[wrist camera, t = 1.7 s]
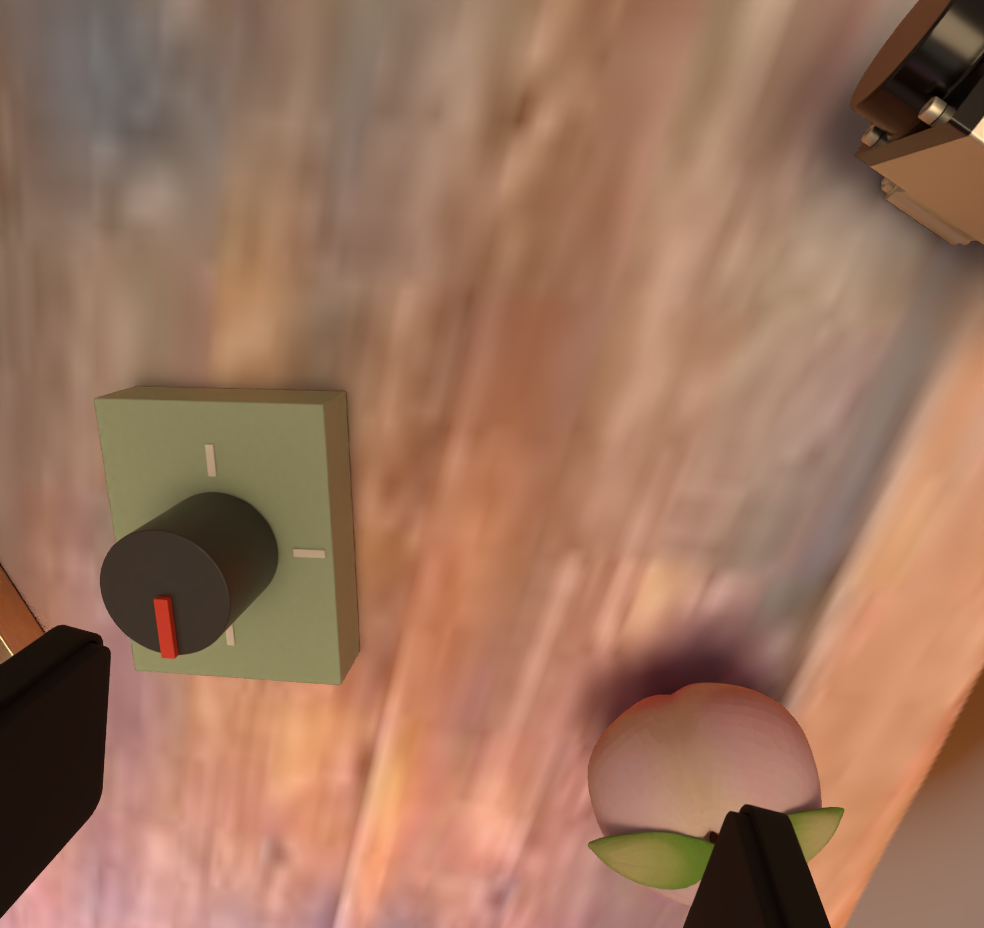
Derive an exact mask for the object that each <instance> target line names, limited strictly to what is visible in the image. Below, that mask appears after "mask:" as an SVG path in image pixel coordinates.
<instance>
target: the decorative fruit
mask: <svg viewBox="0 0 984 928" xmlns="http://www.w3.org/2000/svg"><path fill="white" fill-rule="evenodd" d="M588 787H589V794H590V798H591V803H592V806H593V810H594V813H595V816H596V819H597V822H598V824H599V826H600V829H601V831H602V833H603V835H604V837H603V838H599V839H596V840H594V841H591V842H589V843H588V847H589V848H590V849H591V850H592V851H593V852H594V853H595V854H596V856H597V857H598V858H599V859H600V860H602V861H603V862H604V863H605V864H606V865H607V866H609V867H610V868H611V869H613V870H614V871H616V872H617V873H619V874H621V875H622V876H624V877H626V878H628V879H630V880H632V881H634V882H637V883H639V884H642V885H645V886H648V887H650V888H651V889H653V890H654V891H656V892H657V893H659V894H661V895H662V896H665V897H667V898H669V899H671V900H673V901H676V902H678V903H681V904H685V905H688V906H691V905H692V903H693V900H694V898H695V895H696V892H697V890H698V887H699V884H700V882H701V879H702V877H703V874H704V871H705V869H706V866H707V863H708V861H709V858H710V856H711V853H712V850H713V848H714V845H715V842H716V840H717V837H718V835H719V832H720V829H721V827H722V824H723V821H724V819H725V817H726V815H727V813H728V812H729V811H734V812H738V813H739V811H740V809H741V807H742V806H743V805H744V804H750V805H754V806H757V807H761V808H765V809H769V810H773V811H777V812H780V813H784V814H786V815H787V816H788V817H789V818H790V820H791V822H792V825H793V828H794V830H795V833H796V836H797V838H798V841H799V844H800V846H801V849H802V852H803V854H804V857H805V860H806V862H807V863H808V861H810V860H811V859H812V858H813V857H814V856H816V855H817V854H818V853H819V852H820V851H821V850H822V849H823V848H824V846H825V845H826V844H827V843H828V842H829V840H830V839H831V837H832V836H833V835H834V833H835V831H836V829H837V827H838V825H839V823H840V820H841V818H842V816H843V813H844V809H843V808H840V807H828V808H822V801H821V790H820V782H819V777H818V772H817V768H816V764H815V760H814V757H813V754H812V751H811V748H810V745H809V743H808V740H807V738H806V736H805V734H804V732H803V730H802V729H801V727H800V725H799V724H798V722H797V721H796V720H795V718H794V717H793V716H792V715H791V714H790V713H789V712H788V711H787V710H786V709H785V708H784V707H783V706H782V705H781V704H779V703H778V702H776V701H775V700H773V699H772V698H770V697H768V696H766V695H764V694H762V693H760V692H757V691H755V690H752V689H749V688H745V687H742V686H737V685H731V684H723V683H708V682H706V683H695V684H690V685H687V686H684V687H682V688H681V689H679V690H678V691H676V692H675V693H673V694H672V695H654V696H650V697H647V698H644V699H642V700H641V701H639V702H637V703H636V704H634V705H633V706H632V707H630V708H629V709H628V710H626V711H625V712H624V713H622V714H621V715H620V716H619V717H618V718H617V719H615V720H614V721H613V722H612V723H611V724H610V726H609V727H608V728H607V729H606V730H605V731H604V732H603V734H602V735H601V737H600V738H599V740H598V742H597V743H596V745H595V747H594V749H593V752H592V754H591V757H590V761H589V765H588Z"/></svg>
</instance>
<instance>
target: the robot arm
mask: <svg viewBox="0 0 984 928" xmlns="http://www.w3.org/2000/svg"><path fill="white" fill-rule="evenodd" d="M110 661H111V652H110V650H109V648H108V647H106V646H103V640H102V638H101V636H100V635H98V634H96V633H93V632H89V631H85V630H81V629H77V628H73V627H70V626H66V625H58V626H56V627H54V628H52V629H51V630H49V631H48V632H46V633H45V634H44V635H42V636H41V637H39V638H38V639H36V640H35V641H33V642H32V643H31V644H29V645H28V646H26V647H25V648H23V649H22V650H20V651H19V652H18V653H16V654H15V655H13V656H12V657H10V658H9V659H8V660H6V661H5V662H3V663H2V664H0V918H1V917H2V916H3V915H4V914H5V913H6V912H7V911H8V909H9V908H10V907H11V906H12V905H13V904H14V903H15V901H16V900H17V899H18V898H19V897H20V896H21V895H22V894H23V892H24V891H25V890H26V889H27V888H28V887H29V886H30V885H31V883H32V882H33V881H34V880H35V879H36V878H37V877H38V875H39V874H40V873H41V872H42V871H43V870H44V869H45V868H46V866H47V865H48V864H49V863H50V862H51V861H52V860H53V859H54V857H55V856H56V855H57V854H58V853H59V852H60V851H61V849H62V848H63V847H64V846H65V845H66V844H67V843H68V842H69V840H70V839H71V838H72V837H73V836H74V835H75V834H76V833H77V831H78V830H79V829H80V828H81V827H82V826H83V825H84V823H85V822H86V821H87V820H88V819H89V818H90V816H91V815H92V814H93V812H94V811H95V809H96V807H97V805H98V803H99V801H100V798H101V794H102V789H103V773H104V757H105V741H106V725H107V709H108V693H109V677H110ZM683 928H831V927H830V924H829V921H828V919H827V916H826V913H825V911H824V908H823V905H822V903H821V900H820V897H819V894H818V892H817V889H816V886H815V884H814V881H813V878H812V876H811V873H810V870H809V868H808V865H807V862H806V860H805V857H804V854H803V852H802V849H801V846H800V844H799V841H798V838H797V836H796V833H795V830H794V828H793V825H792V822H791V820H790V818H789V817H788V816H787V815H786V814H784V813H780V812H777V811H773V810H769V809H765V808H761V807H757V806H754V805H750V804H744V805H743V806H742V807H741V809H740V811H739V813H738V812H734V811H729V812H728V813H727V815H726V817H725V819H724V821H723V824H722V827H721V829H720V832H719V835H718V837H717V840H716V842H715V845H714V848H713V850H712V853H711V856H710V858H709V861H708V863H707V866H706V869H705V871H704V874H703V877H702V879H701V882H700V884H699V887H698V890H697V892H696V895H695V898H694V900H693V903H692V905H691V908H690V911H689V913H688V916H687V919H686V921H685V924H684V926H683Z"/></svg>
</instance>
